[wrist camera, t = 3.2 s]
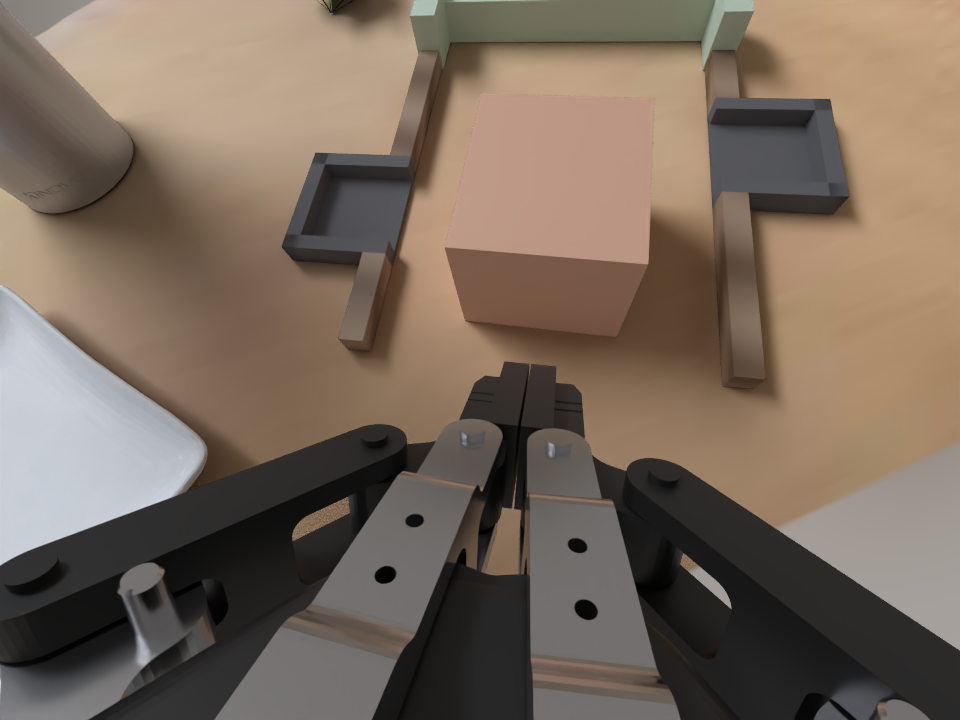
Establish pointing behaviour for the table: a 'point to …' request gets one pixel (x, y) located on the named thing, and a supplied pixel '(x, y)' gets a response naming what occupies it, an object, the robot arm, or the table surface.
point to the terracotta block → (553, 211)
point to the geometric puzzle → (331, 6)
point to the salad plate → (77, 438)
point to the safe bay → (580, 22)
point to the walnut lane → (729, 221)
